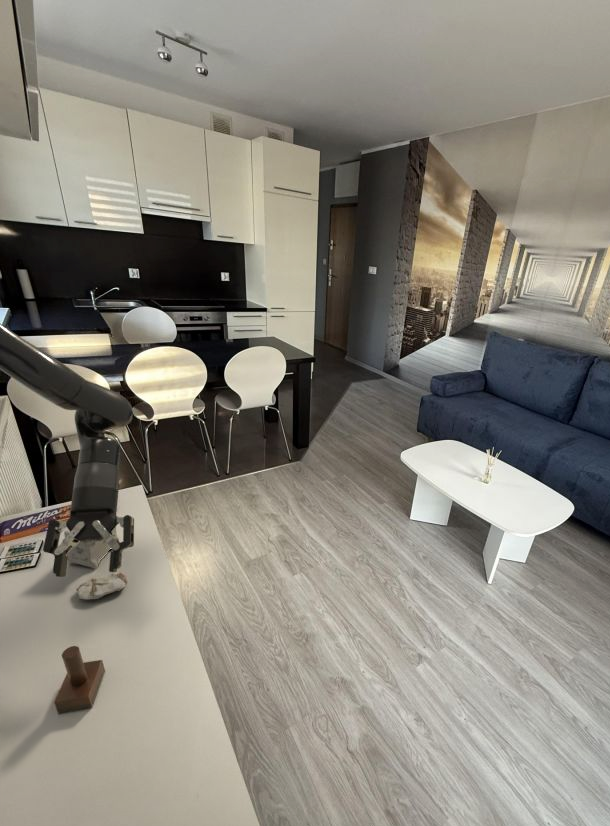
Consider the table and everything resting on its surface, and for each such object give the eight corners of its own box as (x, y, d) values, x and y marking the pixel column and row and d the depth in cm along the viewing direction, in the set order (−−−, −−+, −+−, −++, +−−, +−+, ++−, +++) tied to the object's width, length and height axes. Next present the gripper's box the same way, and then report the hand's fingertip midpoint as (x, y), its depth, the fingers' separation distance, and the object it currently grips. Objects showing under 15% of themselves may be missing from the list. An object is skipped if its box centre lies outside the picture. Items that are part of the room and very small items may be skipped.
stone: (80, 609, 86) (78, 600, 84) (76, 588, 91) (73, 579, 89) (130, 591, 91) (128, 582, 90) (123, 572, 96) (122, 563, 95)
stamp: (58, 713, 66) (43, 673, 62) (74, 675, 72) (61, 636, 68) (91, 708, 68) (79, 668, 63) (105, 670, 74) (94, 632, 70)
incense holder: (99, 570, 96) (91, 535, 92) (67, 565, 97) (57, 531, 92) (125, 545, 105) (119, 512, 101) (96, 541, 106) (88, 508, 101)
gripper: (45, 486, 73) (31, 577, 68) (130, 482, 77) (123, 569, 71) (63, 495, 80) (52, 579, 75) (141, 491, 83) (135, 571, 78)
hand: (87, 574), depth 73 cm, fingers open, 8 cm apart
